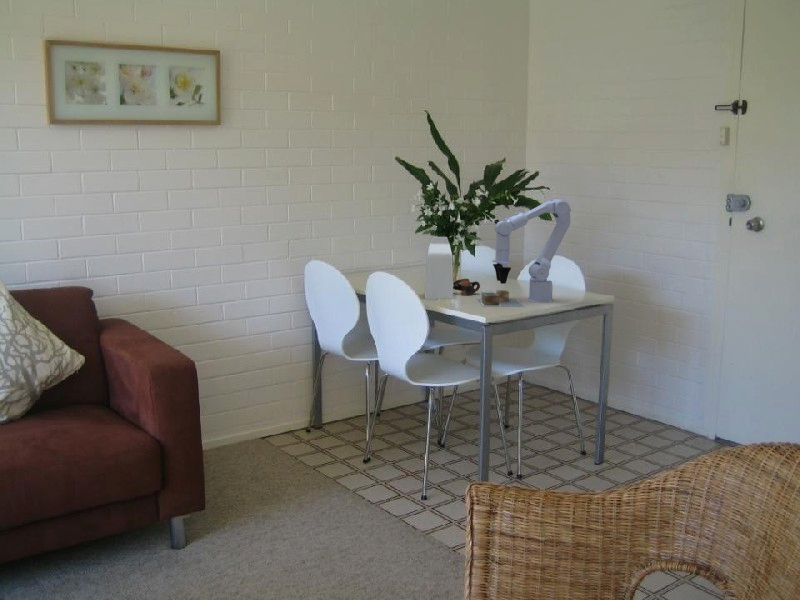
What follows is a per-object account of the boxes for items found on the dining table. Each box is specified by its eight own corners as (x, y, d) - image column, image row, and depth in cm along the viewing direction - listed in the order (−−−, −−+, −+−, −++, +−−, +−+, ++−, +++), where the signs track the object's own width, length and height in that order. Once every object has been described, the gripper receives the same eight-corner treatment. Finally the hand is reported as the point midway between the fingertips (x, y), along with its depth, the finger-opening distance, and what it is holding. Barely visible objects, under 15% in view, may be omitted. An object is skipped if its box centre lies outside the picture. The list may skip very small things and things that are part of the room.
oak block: (506, 299, 379) (506, 290, 378) (508, 301, 375) (509, 292, 374) (496, 299, 379) (496, 290, 378) (498, 301, 374) (498, 292, 373)
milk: (425, 299, 380) (426, 238, 375) (424, 294, 391) (425, 235, 387) (453, 299, 380) (454, 238, 375) (452, 295, 391) (453, 235, 386)
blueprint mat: (515, 300, 380) (515, 299, 380) (524, 307, 362) (524, 306, 362) (476, 300, 379) (476, 299, 379) (483, 307, 361) (483, 306, 361)
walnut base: (496, 302, 370) (496, 293, 370) (499, 305, 364) (499, 295, 364) (482, 302, 370) (482, 293, 369) (484, 305, 364) (484, 295, 363)
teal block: (493, 302, 372) (494, 292, 372) (483, 302, 372) (483, 292, 371) (491, 300, 377) (492, 290, 376) (481, 300, 376) (481, 290, 376)
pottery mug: (455, 298, 387) (451, 280, 389) (456, 304, 396) (451, 287, 398) (482, 291, 386) (477, 273, 389) (482, 297, 395) (477, 280, 398)
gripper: (490, 247, 380) (488, 279, 382) (496, 251, 365) (495, 284, 368) (506, 248, 380) (505, 279, 383) (513, 252, 366) (512, 284, 368)
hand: (501, 282), depth 375 cm, fingers open, 7 cm apart
